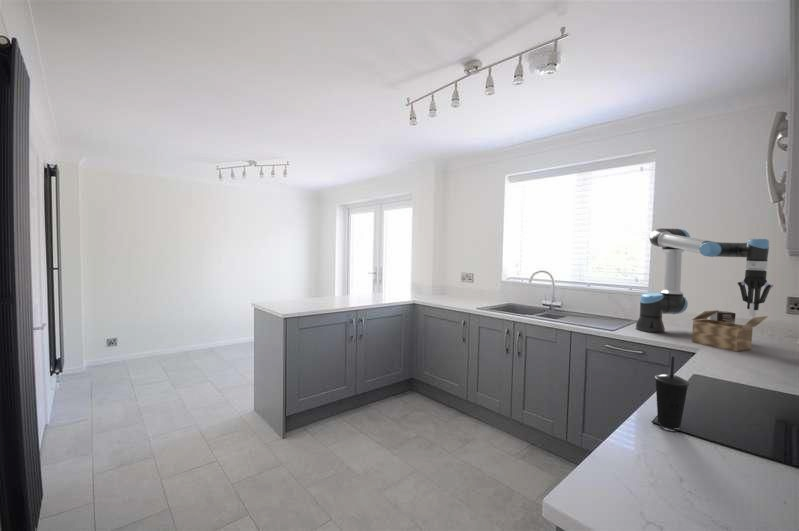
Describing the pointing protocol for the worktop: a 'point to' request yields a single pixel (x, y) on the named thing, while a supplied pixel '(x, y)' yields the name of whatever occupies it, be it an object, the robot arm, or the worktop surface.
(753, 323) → the flap
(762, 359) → the worktop surface
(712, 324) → the carton
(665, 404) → the drinking cup
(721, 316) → the coffee box
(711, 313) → the flap
